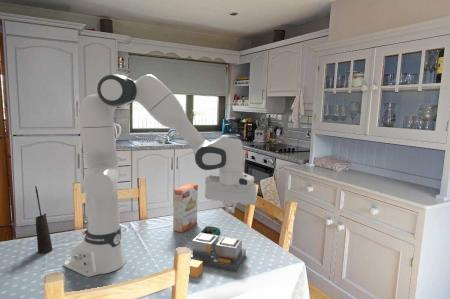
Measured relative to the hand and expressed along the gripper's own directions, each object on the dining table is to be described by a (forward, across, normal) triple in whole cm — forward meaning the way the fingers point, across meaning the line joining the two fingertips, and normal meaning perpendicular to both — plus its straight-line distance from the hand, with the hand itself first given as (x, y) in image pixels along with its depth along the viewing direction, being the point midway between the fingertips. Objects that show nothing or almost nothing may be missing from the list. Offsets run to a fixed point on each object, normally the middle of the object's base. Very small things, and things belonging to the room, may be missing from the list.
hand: (230, 212), depth 120 cm
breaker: (+15, -10, 0) cm, 18 cm away
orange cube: (+20, -9, -13) cm, 26 cm away
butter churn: (+20, -74, -19) cm, 79 cm away
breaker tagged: (+15, 0, 0) cm, 15 cm away
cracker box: (+20, -31, +24) cm, 44 cm away
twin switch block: (+20, -5, 0) cm, 21 cm away
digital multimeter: (+21, -16, +17) cm, 31 cm away
